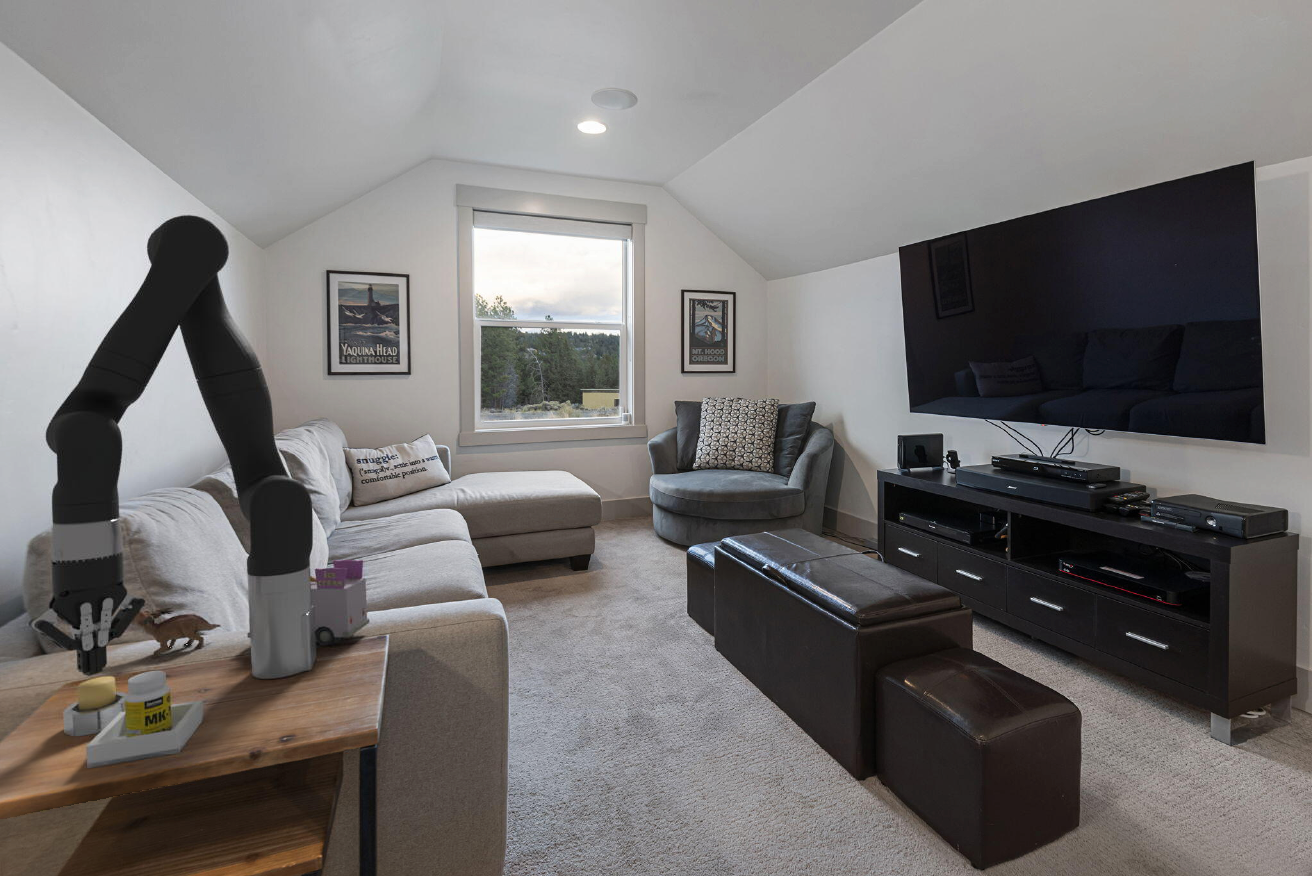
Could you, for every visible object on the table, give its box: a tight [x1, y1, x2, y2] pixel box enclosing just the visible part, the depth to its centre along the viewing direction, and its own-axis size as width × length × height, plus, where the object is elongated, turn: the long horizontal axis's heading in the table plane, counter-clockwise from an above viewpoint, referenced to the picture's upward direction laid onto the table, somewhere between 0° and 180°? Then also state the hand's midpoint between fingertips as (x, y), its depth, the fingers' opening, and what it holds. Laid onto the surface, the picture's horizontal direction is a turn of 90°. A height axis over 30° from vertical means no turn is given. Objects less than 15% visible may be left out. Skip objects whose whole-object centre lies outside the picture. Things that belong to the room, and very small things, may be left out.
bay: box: [85, 700, 204, 769], centre depth 85 cm, size 10×10×3 cm
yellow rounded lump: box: [77, 675, 117, 710], centre depth 90 cm, size 4×4×3 cm
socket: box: [62, 691, 128, 738], centre depth 90 cm, size 7×7×3 cm
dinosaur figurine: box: [130, 604, 222, 660], centre depth 119 cm, size 14×6×9 cm, turn 127°
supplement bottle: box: [125, 670, 172, 737], centre depth 85 cm, size 5×5×8 cm
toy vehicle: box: [246, 559, 370, 646], centre depth 122 cm, size 9×20×15 cm, turn 88°
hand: (92, 673), depth 90 cm, fingers closed
